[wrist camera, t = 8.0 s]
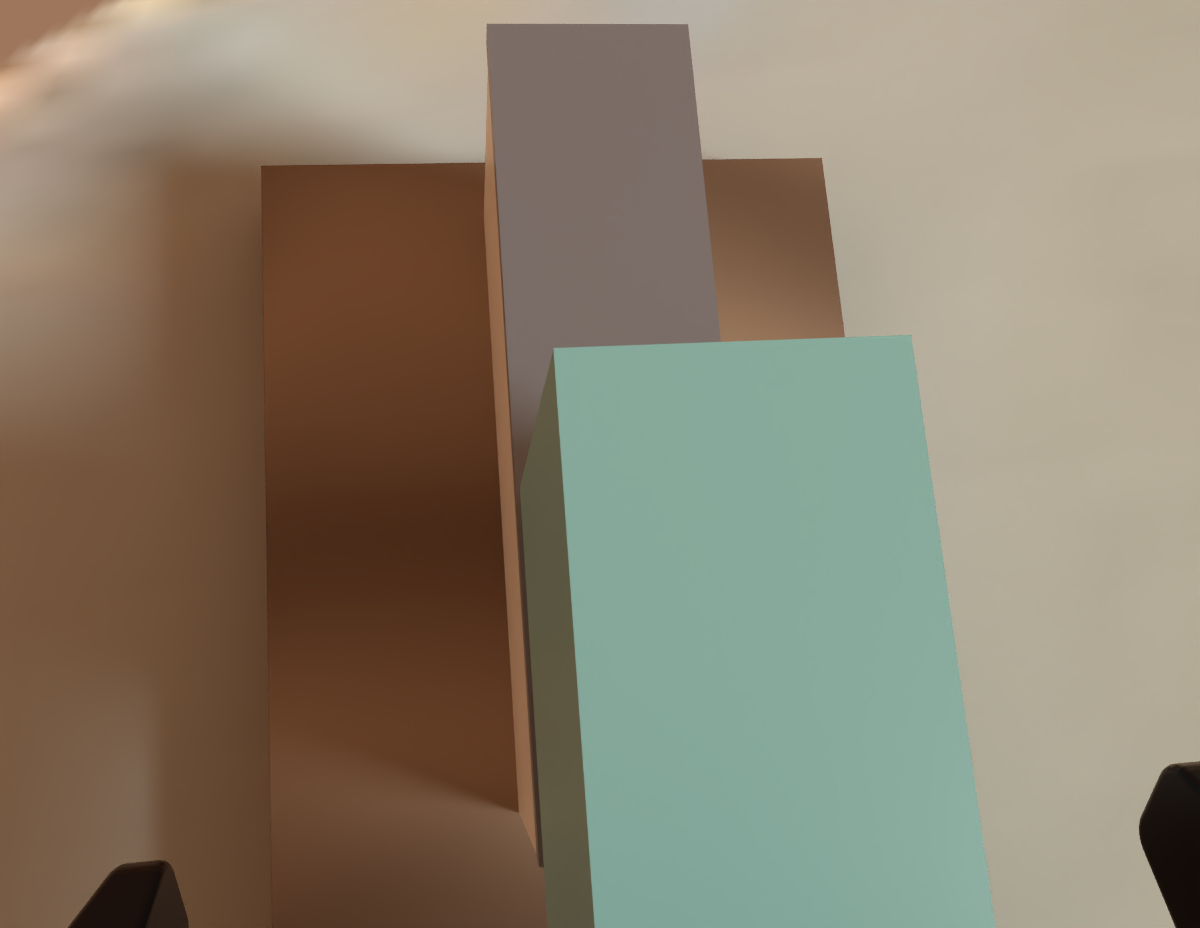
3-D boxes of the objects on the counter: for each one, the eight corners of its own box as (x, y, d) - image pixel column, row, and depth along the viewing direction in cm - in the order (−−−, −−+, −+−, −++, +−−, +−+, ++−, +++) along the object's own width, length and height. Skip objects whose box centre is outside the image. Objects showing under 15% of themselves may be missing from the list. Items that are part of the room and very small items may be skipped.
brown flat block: (898, 1014, 18) (936, 1042, 17) (292, 1089, 17) (274, 1127, 15) (797, 194, 21) (821, 158, 20) (276, 204, 20) (261, 165, 18)
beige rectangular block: (678, 797, 17) (773, 844, 12) (517, 812, 17) (539, 868, 11) (627, 212, 19) (687, 24, 14) (481, 215, 19) (486, 23, 13)
